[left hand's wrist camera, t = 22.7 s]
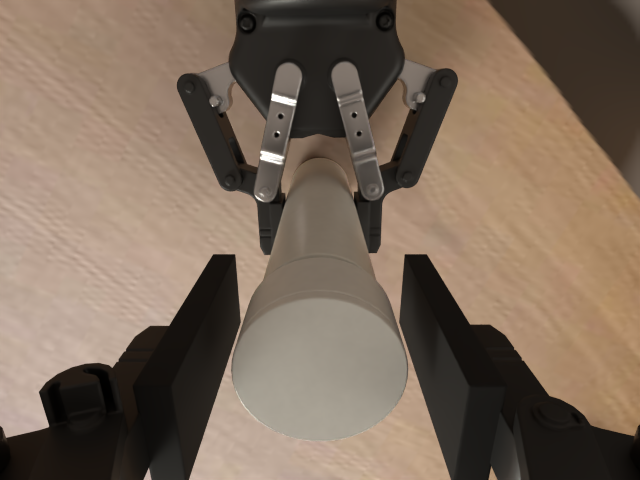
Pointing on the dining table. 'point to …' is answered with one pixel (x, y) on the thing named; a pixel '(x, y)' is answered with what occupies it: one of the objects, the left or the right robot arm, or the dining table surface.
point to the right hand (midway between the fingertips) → (320, 257)
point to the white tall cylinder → (319, 219)
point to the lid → (319, 352)
